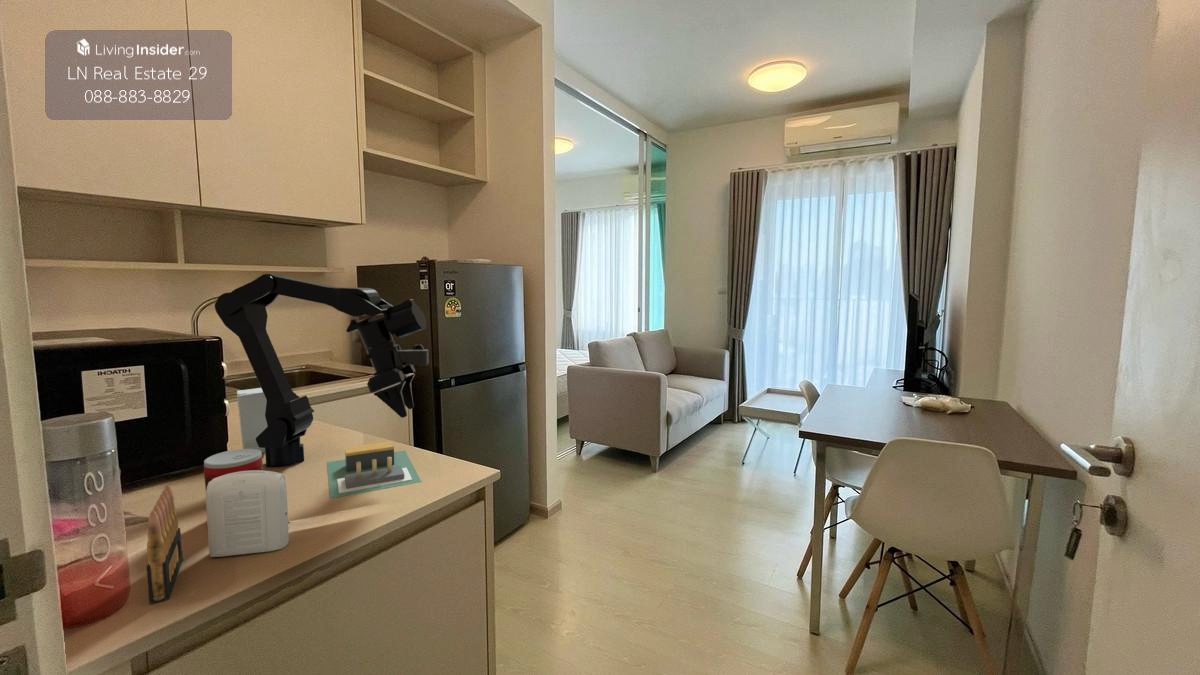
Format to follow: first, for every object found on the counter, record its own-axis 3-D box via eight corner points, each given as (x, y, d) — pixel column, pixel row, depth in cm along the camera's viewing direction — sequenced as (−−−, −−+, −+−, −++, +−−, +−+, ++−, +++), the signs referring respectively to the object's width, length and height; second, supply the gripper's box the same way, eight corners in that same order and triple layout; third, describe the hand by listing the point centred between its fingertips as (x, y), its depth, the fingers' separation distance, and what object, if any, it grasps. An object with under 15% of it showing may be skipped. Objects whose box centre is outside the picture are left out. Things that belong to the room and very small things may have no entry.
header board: (330, 506, 88) (329, 476, 88) (327, 468, 105) (326, 443, 105) (421, 488, 97) (421, 461, 96) (405, 456, 114) (404, 433, 113)
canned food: (275, 510, 86) (272, 451, 85) (228, 532, 79) (224, 467, 78) (245, 503, 89) (241, 445, 88) (197, 523, 81) (192, 460, 80)
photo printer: (293, 537, 78) (289, 463, 76) (284, 551, 74) (279, 474, 72) (217, 546, 75) (212, 469, 73) (204, 561, 71) (197, 480, 69)
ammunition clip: (166, 562, 70) (159, 484, 69) (183, 559, 71) (176, 481, 70) (149, 605, 61) (140, 515, 60) (168, 600, 62) (160, 512, 61)
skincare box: (281, 443, 121) (278, 384, 119) (285, 449, 116) (281, 389, 114) (240, 449, 115) (236, 389, 114) (241, 457, 111) (237, 394, 109)
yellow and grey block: (346, 472, 100) (346, 453, 100) (345, 465, 104) (344, 447, 103) (394, 464, 105) (393, 446, 104) (391, 458, 108) (391, 441, 108)
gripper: (410, 333, 94) (440, 406, 96) (423, 330, 113) (448, 392, 114) (353, 353, 92) (384, 428, 94) (375, 347, 110) (401, 409, 112)
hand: (408, 412), depth 104 cm, fingers open, 9 cm apart
